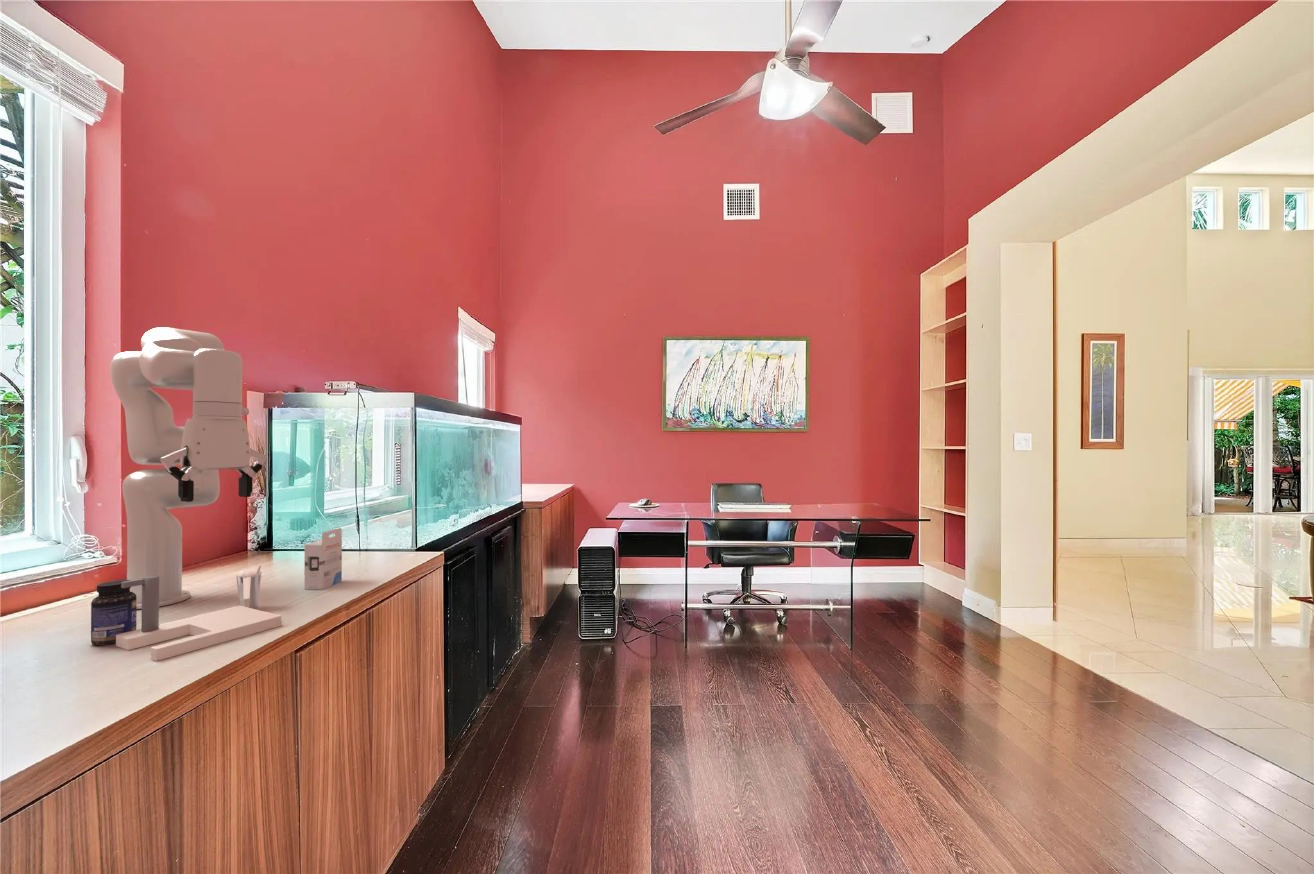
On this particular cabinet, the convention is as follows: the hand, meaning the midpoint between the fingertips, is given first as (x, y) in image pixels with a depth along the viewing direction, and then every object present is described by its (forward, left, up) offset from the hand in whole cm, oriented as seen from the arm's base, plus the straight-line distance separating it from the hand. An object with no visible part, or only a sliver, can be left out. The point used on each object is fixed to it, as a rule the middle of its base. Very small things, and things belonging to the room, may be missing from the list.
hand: (217, 498), depth 104 cm
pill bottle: (-14, -10, -27) cm, 32 cm away
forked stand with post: (-2, -1, -27) cm, 27 cm away
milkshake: (-12, +12, -27) cm, 32 cm away
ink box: (-18, +32, -27) cm, 45 cm away
